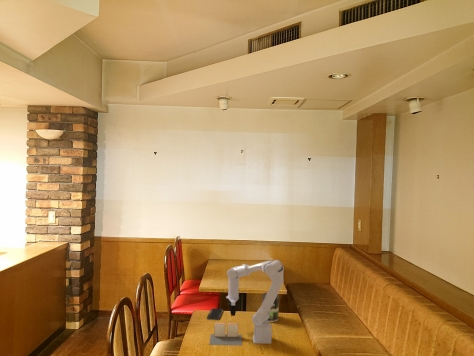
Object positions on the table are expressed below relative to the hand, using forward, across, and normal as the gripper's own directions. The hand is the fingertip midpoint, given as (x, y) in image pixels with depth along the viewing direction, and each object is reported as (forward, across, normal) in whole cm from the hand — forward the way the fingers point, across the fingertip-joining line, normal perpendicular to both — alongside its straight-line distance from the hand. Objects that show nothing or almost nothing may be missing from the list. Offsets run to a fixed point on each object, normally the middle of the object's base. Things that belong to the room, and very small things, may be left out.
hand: (233, 312), depth 187 cm
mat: (+10, +10, -4) cm, 15 cm away
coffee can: (+11, -17, +23) cm, 31 cm away
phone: (+11, -20, -11) cm, 25 cm away
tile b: (+10, +6, -7) cm, 14 cm away
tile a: (+10, +6, 0) cm, 12 cm away
